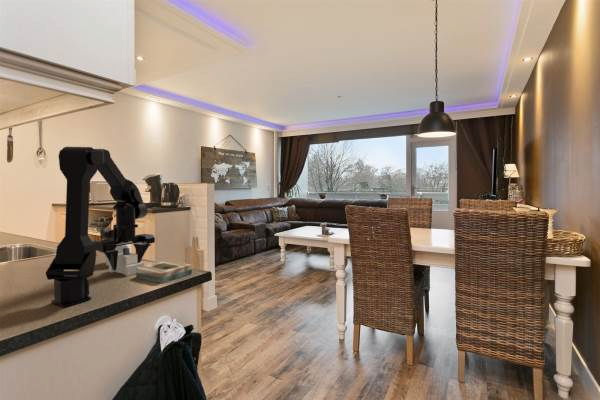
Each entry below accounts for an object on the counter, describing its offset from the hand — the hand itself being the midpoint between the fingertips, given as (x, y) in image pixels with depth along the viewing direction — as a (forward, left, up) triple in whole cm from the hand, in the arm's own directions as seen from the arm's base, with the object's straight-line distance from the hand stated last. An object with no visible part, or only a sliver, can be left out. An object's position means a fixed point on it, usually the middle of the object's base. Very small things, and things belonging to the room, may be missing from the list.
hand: (126, 267), depth 110 cm
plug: (0, 0, -2) cm, 2 cm away
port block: (+4, -14, -2) cm, 15 cm away
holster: (0, 0, -2) cm, 2 cm away
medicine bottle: (+6, +13, -2) cm, 14 cm away
